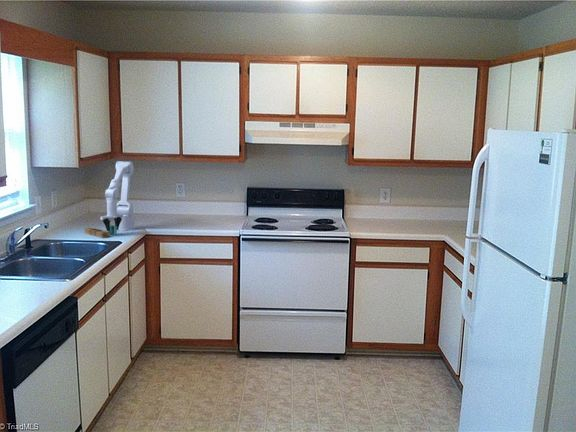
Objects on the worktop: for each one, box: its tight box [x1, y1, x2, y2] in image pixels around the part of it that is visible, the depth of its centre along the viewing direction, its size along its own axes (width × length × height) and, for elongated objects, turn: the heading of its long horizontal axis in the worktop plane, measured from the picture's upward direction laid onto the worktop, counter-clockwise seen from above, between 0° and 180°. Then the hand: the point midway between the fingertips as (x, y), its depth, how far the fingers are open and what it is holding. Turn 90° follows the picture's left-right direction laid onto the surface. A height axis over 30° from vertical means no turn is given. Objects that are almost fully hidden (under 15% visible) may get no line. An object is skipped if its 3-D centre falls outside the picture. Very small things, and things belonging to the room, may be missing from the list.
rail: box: [83, 227, 111, 239], centre depth 318 cm, size 5×20×3 cm, turn 51°
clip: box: [107, 223, 118, 237], centre depth 319 cm, size 6×2×6 cm, turn 51°
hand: (112, 230), depth 320 cm, fingers open, 5 cm apart
